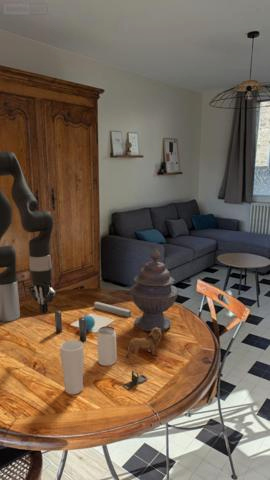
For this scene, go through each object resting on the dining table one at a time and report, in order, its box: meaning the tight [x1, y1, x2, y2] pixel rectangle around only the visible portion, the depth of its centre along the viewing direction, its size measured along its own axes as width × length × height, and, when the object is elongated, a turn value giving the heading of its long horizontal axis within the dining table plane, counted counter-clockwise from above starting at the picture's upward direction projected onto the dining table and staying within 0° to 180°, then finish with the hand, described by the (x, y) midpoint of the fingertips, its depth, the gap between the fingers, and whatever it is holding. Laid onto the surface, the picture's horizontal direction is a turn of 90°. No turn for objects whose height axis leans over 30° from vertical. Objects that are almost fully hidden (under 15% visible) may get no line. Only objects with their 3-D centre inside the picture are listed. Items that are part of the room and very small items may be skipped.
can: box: [96, 325, 117, 367], centre depth 120 cm, size 6×6×12 cm
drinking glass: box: [60, 339, 85, 395], centre depth 104 cm, size 7×7×15 cm
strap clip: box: [122, 369, 149, 391], centre depth 109 cm, size 8×3×4 cm, turn 130°
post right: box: [78, 316, 87, 343], centre depth 135 cm, size 3×3×9 cm
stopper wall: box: [93, 301, 132, 318], centre depth 162 cm, size 20×2×2 cm, turn 57°
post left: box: [54, 309, 63, 334], centre depth 142 cm, size 3×3×9 cm
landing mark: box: [70, 312, 116, 334], centre depth 151 cm, size 14×14×1 cm
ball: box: [83, 314, 95, 331], centre depth 145 cm, size 6×6×6 cm
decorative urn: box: [129, 247, 179, 333], centre depth 145 cm, size 20×20×35 cm
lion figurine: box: [125, 327, 163, 359], centre depth 125 cm, size 15×5×9 cm, turn 118°
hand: (44, 312), depth 126 cm, fingers closed
